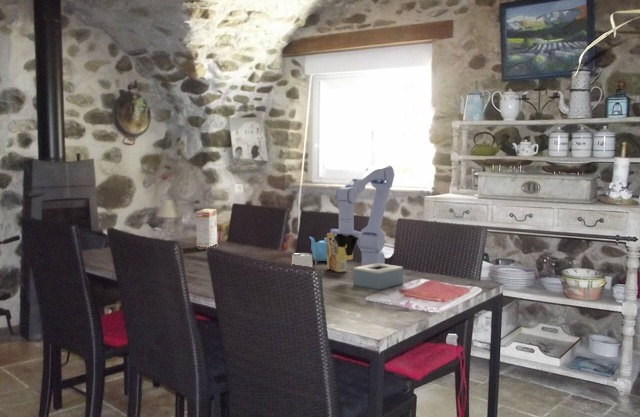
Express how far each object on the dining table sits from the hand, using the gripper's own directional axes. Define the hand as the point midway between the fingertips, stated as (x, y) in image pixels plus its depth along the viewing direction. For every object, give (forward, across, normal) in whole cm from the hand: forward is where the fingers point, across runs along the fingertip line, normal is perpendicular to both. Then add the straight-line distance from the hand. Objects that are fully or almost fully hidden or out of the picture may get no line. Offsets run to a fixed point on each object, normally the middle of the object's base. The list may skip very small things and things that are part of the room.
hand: (346, 254), depth 234 cm
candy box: (+10, -16, +12) cm, 22 cm away
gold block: (+2, 0, 0) cm, 2 cm away
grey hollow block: (+10, +14, +2) cm, 17 cm away
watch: (+10, -6, -15) cm, 19 cm away
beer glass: (+10, +10, -33) cm, 36 cm away
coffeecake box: (+10, -104, +10) cm, 105 cm away
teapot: (+10, -35, +25) cm, 44 cm away
